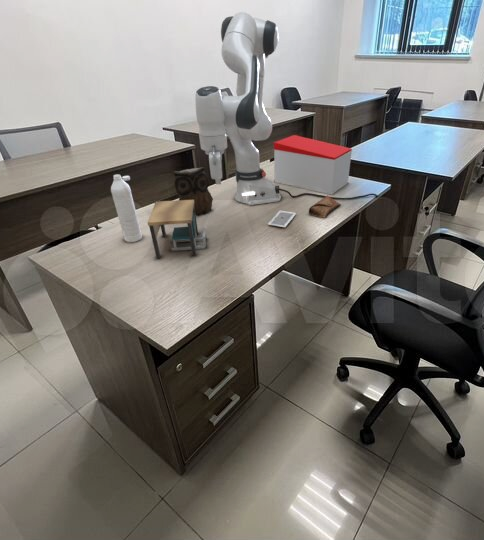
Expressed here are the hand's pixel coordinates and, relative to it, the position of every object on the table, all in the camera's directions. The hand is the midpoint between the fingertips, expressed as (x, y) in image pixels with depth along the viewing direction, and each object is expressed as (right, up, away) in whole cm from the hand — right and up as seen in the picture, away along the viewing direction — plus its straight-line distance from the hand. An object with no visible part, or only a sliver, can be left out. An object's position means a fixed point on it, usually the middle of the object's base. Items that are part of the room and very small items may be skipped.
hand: (218, 182), depth 121 cm
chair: (-13, -21, +8) cm, 26 cm away
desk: (-16, -22, +7) cm, 28 cm away
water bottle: (-34, -19, +11) cm, 41 cm away
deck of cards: (+23, -10, +26) cm, 36 cm away
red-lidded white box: (+39, +17, +66) cm, 79 cm away
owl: (-16, -4, +34) cm, 38 cm away
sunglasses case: (+43, -3, +36) cm, 56 cm away
